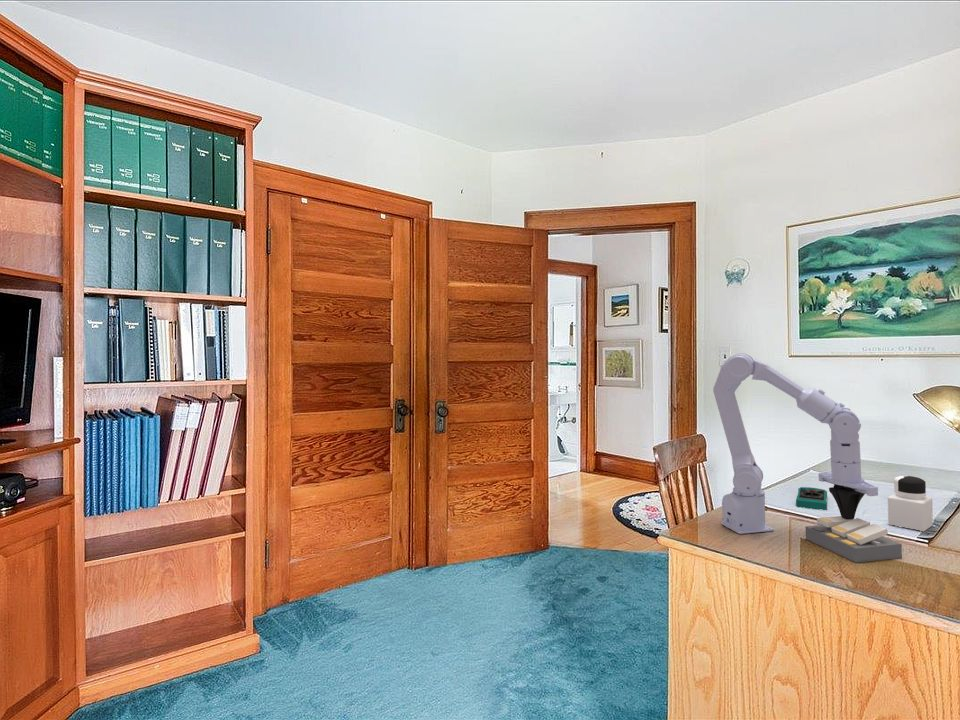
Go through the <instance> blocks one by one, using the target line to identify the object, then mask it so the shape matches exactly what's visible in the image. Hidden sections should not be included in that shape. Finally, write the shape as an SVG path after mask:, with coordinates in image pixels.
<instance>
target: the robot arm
mask: <svg viewBox="0 0 960 720" xmlns="http://www.w3.org/2000/svg"><path fill="white" fill-rule="evenodd" d="M751 375H752V377H751V380H755V381H765V382H767V383H769V384H770V385H772V386H773V387H775V388H776V389H779V390H780V391H781V392H783V393H785V394H787V396H790V397H791V398H793V399H794V400H796V406H797V408H799V410H801V411H802V412H804V413H806V414H808V415H809V416H811V417H813V419H815V420H817V421H818V422H820V423H822V424H827V425H828V426H829V428H830V441H829V445H830V446H829V447H830V449H829V451H830V469H831V472H818V474H817V475H818V481H819V482H821V483H823V482H824V483H827V484H831V485H833V486H832V487H828V491H829V493H830V494H831V495H832V497H833V499H834V501H835V503H836V505H837V508H838V510H839V513H840V516H841V517H842V518H844V519H855V516H856V512H857V509H858V507H859V504H860V502H861V500H862V499H863V497H864V496H865V495H866V496H867V497H877V496H879V488H878V486H876V485H873V484H871V483H869V482H868V481H867V482H866V481H865V478H863V477H862V466H861V465H862V462H861V461H862V459H861V443H860V441H859V440H860V433H859V432H860V430H861V427H862V424H861V422H860V419H859V418H858V416H857V415H856V413H854V411H852V410H851V409H850V408H848V407H845V404H844V403H842V402H840V403H838V402H837V401H835V400H834V399H832V398H830V397H829V396H827V395H826V392H825V391H824V390H823V389H821V388H819V389H818V390H817V389H816V388H813V387H811V388H804V387H802V386H801V385H800V384H798V383H796V381H793V380H792V379H790V378H789V377H787V376H786V375H784V374H783V373H781V372H780V371H779V370H778V369H775V368H774V367H772V366H771V365H769V364H768V363H765V362H763V361H762V360H759V359H757V358H753V357H752V356H751V355H750V354H747V353H741V352H740V353H736V354H733V355H731V356H729V358H728V359H727V358H726V361H725V362H724V363H722V365H720V370H719V372H718V375H717V377H716V381H715V383H714V385H713V394H714V398H715V402H716V406H717V409H718V412H719V416H720V420H721V424H722V426H723V431H724V435H725V437H726V441H727V445H728V448H729V452H730V455H731V460H732V461H731V463H732V469H733V478H732V484H733V486H734V487H733V488H732V491H731V493H727V494H725V495H723V496H722V499H721V515H722V516H721V517H722V519H721V520H722V521H720V525H723V526H724V527H726V528H727V529H730V530H731V531H733V532H735V533H737V534H740V535H742V534H754V533H762V532H773V531H775V528H773V527H771V526H768V525H767V524H766V500H765V499H766V498H765V497H766V493H765V491H764V490H763V488H762V482H763V479H764V473H763V472H764V471H763V470H762V469H761V467H760V466H758V464H757V463H756V460H755V457H754V455H753V452H752V450H751V446H750V442H749V440H748V436H747V431H746V428H745V425H744V421H743V418H742V414H741V410H740V407H739V404H738V400H737V397H736V393H735V392H736V391H737V389H738V388H739V387H740V386H741V384H742V382H743V381H745V380H746V379H747V378H749V377H750V376H751Z"/></svg>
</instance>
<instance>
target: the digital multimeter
mask: <svg viewBox="0 0 960 720" xmlns="http://www.w3.org/2000/svg"><path fill="white" fill-rule="evenodd" d="M797 489H798V491H797V497H796V498H795V506H796V507H797V508H803V507H805V509H810V508H812V509H813V510H819V509H823V511H827V510H828V503H827V499H828V490H826V489H823V488H816V487H810V486H809V487H807V486H805V487H804V486H801V487H798V488H797Z"/></svg>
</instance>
